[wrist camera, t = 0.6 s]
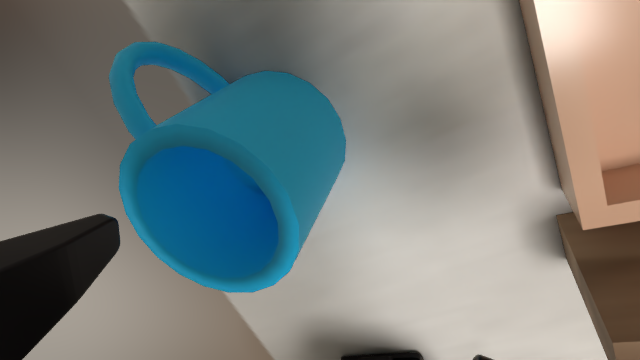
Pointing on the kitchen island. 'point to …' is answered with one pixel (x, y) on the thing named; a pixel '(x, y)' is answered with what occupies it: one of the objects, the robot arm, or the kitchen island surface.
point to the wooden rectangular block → (607, 281)
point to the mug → (226, 170)
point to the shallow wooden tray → (591, 101)
